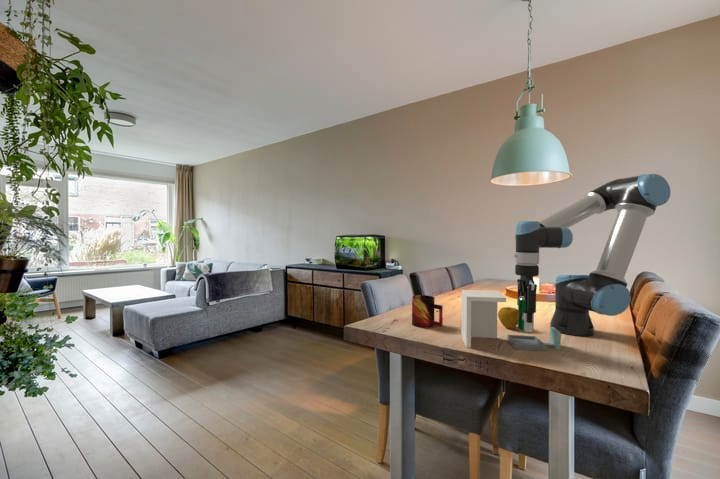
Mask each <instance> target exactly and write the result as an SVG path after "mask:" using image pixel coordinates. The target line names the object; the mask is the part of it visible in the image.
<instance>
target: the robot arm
mask: <svg viewBox="0 0 720 479" xmlns="http://www.w3.org/2000/svg"><path fill="white" fill-rule="evenodd" d="M671 193H672V192H671V187H670V184H669V183H668V181H667V179H666V178H665V177H663V176H662V175H660V174H657V173H647V174H646V173H645V174H644V173H643V174H640V175H635V176H629V177H623V178H617V179H614V180H611V181H609V182H606V183H604V184H602V185H601V186H599V187H597V188H595V189H593V190H591V191H589V192H587V193H585V195H584V196H583V198H581V199H579V200H577V201H576V202H574V203H572V204H570V205H568V206H566V207H564V208H562V209H560V210H558V211H557V212H554V213H553V214H551V215H549V216H547V217H545V218H544V219H542V220H539V221H535V220H533V221H532V220H523V221H518V222H517V223H516V227H515V235H514V238H515V254H514V255H513V258H515V263H516V264H515V267H514V268H515V270H514V273H515V275H516V276H519V277H520V278H517V280H516V281H517V294H516V295H517V296H516V297H517V301H516V302H517V303H516V305H517V306H518V298H519V297H520V295H524V297H525V311H523V313H524V331H523V332H525V333H526V332H530V333H532V332H534V327H533V314H534V315H535V314H536V312H537V288H538V285H537V284H535V281H534V277H538V276H539V273H540V268H539V267H540V266H539V264H540V249H543V248H544V249H546V248H548V249H549V248H550V249H556V248H557V249H562V248H568V247H570V246H571V244H572V243H573V240H574V239H573V238H574V237H573V236H574V235H573V232H572V230H571V229H570V227H573V226H574V225H577V224H578V223H580V222H582V221H584V220H585V219H588V218H589V217H591V216H593V215H595V214H596V215H597V214H598V215H600V214H603V213H605V212H606V211H610V210H616V211H617V215H616V217H615V218H614V222H613V225H612V226H611V230H610V233H609V235H608V238H607V240H606V243H605V245H604V249H603V251H602V254H601V256H600V258H599V261H598V264H597V267H596V268H595V270H593V271H590V272H589V274H561V275H560V274H558V275H557V276H556V278H555V283H554V285H555V288H554V289H555V290H554V292H555V308H554V309H555V310H554V313H553V315H552V318H551V321H550V323H549V324H550V326H549V328H550V327H554V328H555V329H557V330H558V331H560V332H561V334H565V335H570V336H577V337H587V336H588V337H589V336H594V334H595V327H594V324H593V321H592V319H591V318H592V317H591V316H590V312H593V313H596V314H598V315H602V316H603V315H604V316H609V317H613V316H614V317H615V316H618V315H620V314H622V313H624V312H625V311H626V310H627V309H628V308H629V307H630V303H631V301H632V300H631V299H632V297H631V292H630V290H629V289H628V288H627V286H628V282H627V280H626V279H625V277H626V274H627V271H628V268H629V266H630V263H631V260H632V258H633V255H634V253H635V250H636V247H637V245H638V242H639V240H640V237H641V235H642V234H641V233H642V231H643V230H644V226H645V224H646V220H647V218H648V217H651V216H654V215H655V212H656V210H657V207H659V206H663V205H664V204H666V203H667V202H668V201H669V199H670V197H671Z"/></svg>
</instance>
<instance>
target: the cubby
mask: <svg viewBox="0 0 720 479" xmlns="http://www.w3.org/2000/svg"><path fill="white" fill-rule="evenodd" d="M499 303H507V297H506V296H505V295H503V294H502V293H501V292H499V291H497V290H479V289H477V290H475V289H470V290H469V289H461V338H462V341H463V343H464V345H465V347H466V348H468V349H469V348H470V349H471V348H472V338H483V339H498V304H499Z"/></svg>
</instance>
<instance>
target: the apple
mask: <svg viewBox="0 0 720 479" xmlns="http://www.w3.org/2000/svg"><path fill="white" fill-rule="evenodd" d="M497 318H498V320H499V321H500V323H501V325H502V326H504V328H505V329H509V330H510V329H515V328H516V327H518V308H517V307H510V306H508V307H507V306H504V307H501V308H500V309H498V311H497Z"/></svg>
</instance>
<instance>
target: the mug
mask: <svg viewBox="0 0 720 479" xmlns="http://www.w3.org/2000/svg"><path fill="white" fill-rule="evenodd" d="M411 302H412V303H411V305H412V306H411V324H412V326H414V327H416V328H422V329H424V328H425V329H428V328H433V327H434V326H435V327H440V328H442V327H443V321H444V319H443V306H444V305H441V304H435V297H434V296H432V295H428V294H427V295H426V294H425V295H424V294H422V295H421V294H418V295H413V296H412V297H411ZM435 309H436V310H438V316H439V317H438V321H436V320H435Z"/></svg>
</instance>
